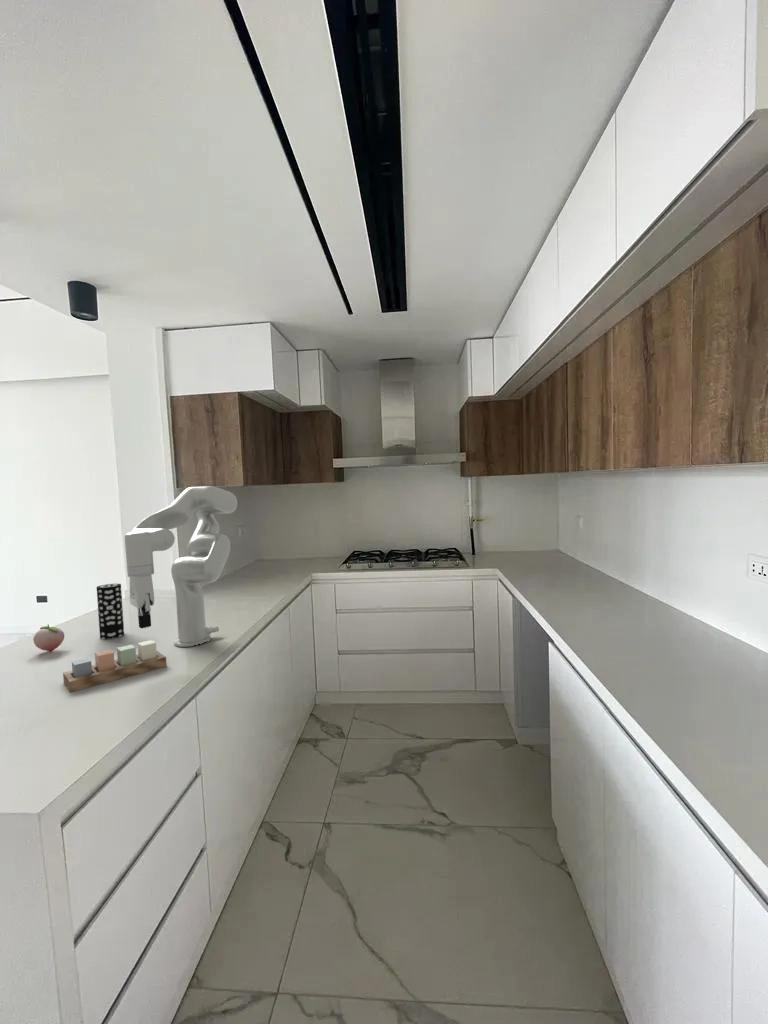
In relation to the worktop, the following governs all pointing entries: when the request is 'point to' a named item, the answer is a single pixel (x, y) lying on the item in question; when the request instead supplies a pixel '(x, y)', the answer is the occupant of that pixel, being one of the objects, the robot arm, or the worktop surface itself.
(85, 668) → the grey block
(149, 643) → the cream block
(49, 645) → the decorative fruit
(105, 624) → the spotted tube
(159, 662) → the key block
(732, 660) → the worktop surface
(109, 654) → the key terracotta
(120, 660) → the key sage
